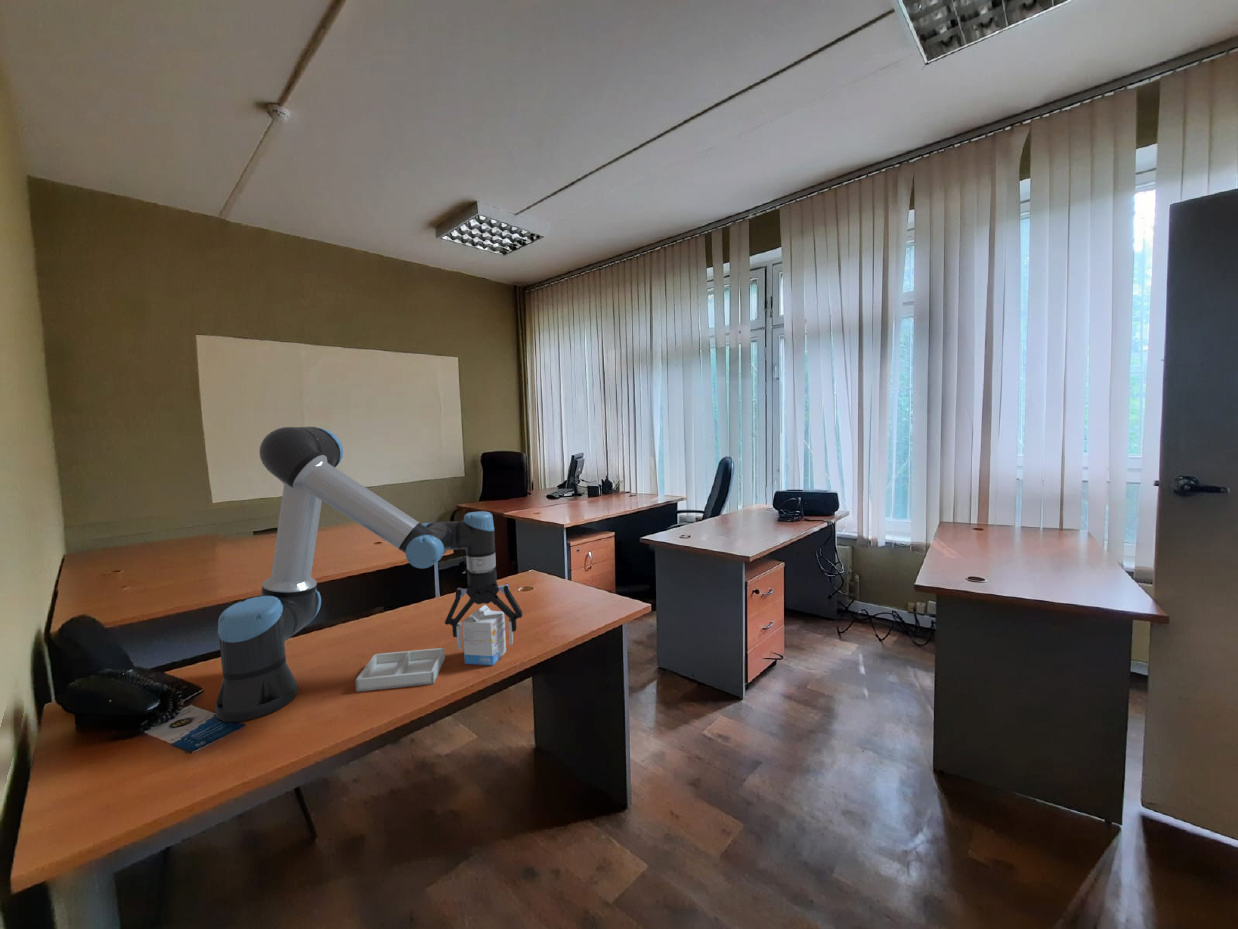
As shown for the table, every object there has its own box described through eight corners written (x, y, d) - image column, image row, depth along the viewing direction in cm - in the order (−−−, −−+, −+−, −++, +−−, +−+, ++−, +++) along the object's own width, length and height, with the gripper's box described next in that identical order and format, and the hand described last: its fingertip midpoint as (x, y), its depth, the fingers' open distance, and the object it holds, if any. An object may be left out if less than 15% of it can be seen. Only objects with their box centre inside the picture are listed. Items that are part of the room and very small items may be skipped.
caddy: (356, 691, 114) (355, 680, 114) (375, 665, 127) (374, 654, 127) (433, 684, 117) (433, 672, 116) (444, 658, 130) (444, 647, 129)
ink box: (492, 666, 125) (490, 617, 124) (463, 664, 126) (461, 615, 125) (506, 651, 133) (504, 604, 132) (479, 649, 135) (477, 603, 134)
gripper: (430, 577, 122) (435, 656, 124) (528, 569, 126) (531, 646, 128) (436, 568, 130) (441, 643, 131) (529, 562, 133) (532, 634, 135)
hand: (485, 645), depth 129 cm, fingers open, 13 cm apart
